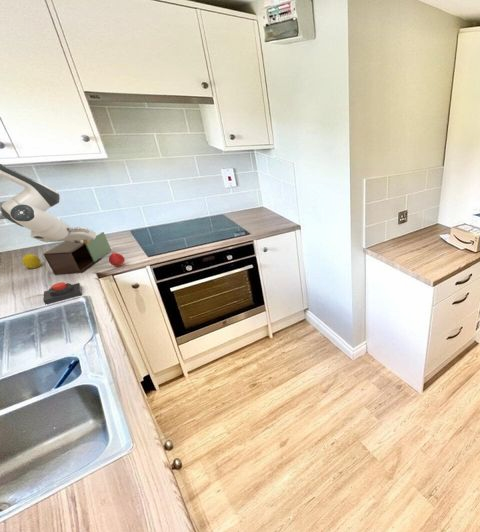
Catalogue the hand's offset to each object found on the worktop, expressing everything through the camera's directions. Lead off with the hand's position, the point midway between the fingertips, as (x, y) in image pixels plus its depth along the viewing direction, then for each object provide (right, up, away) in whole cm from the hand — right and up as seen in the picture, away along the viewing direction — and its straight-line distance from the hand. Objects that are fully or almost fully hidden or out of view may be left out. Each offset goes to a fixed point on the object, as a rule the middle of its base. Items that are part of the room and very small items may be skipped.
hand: (79, 241), depth 152 cm
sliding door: (-3, -6, +15) cm, 17 cm away
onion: (+14, -12, +6) cm, 19 cm away
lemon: (-23, -13, +2) cm, 27 cm away
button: (+11, -21, -19) cm, 31 cm away
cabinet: (-6, -12, +6) cm, 15 cm away
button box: (+11, -24, -17) cm, 32 cm away
